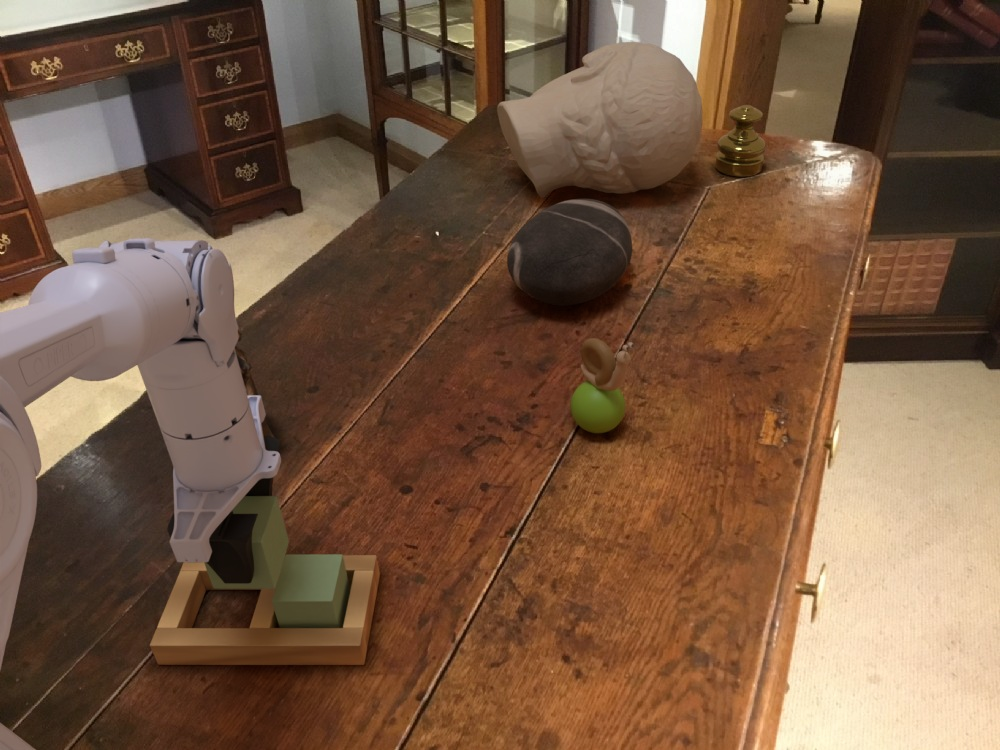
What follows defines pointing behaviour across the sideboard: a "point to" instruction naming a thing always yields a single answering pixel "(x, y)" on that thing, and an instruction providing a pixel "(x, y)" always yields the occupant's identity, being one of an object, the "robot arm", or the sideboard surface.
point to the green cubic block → (312, 591)
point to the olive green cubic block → (261, 543)
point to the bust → (608, 122)
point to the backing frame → (265, 626)
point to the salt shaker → (741, 145)
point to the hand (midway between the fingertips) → (248, 552)
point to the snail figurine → (600, 387)
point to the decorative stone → (570, 252)
